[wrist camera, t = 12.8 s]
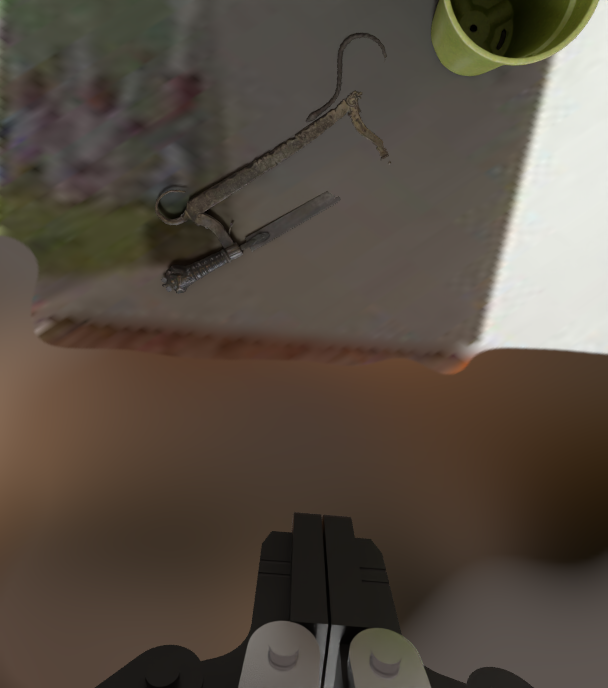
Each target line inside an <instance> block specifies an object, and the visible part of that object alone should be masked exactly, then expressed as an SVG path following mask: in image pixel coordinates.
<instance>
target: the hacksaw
mask: <svg viewBox="0 0 608 688" xmlns="http://www.w3.org/2000/svg"><path fill="white" fill-rule="evenodd" d="M361 37H364V38H365V37H366V38H370V39H372V40H373V41H375V42H377V43H378V44H379V46H380V47H381V49H382V52H383V55H384V58H386V57H387V55H386V52H385V47H384V46H383V45H382V43H381V42H380V40H379V39H377V38H376V37H375V36H372V35H370V34H367V33H356V34H353V35H350V36H349V37H348V38H347V39H345V40H344V41H343V43H342V44H341V45H340V49H339V51H338V59H337V63H338V64H337V68H338V71H337V74H338V77H337V88H336V92H335V94H334V96H333V98H331V99H330V101H329V102H328V103H327V104H325V105H324V106H323V107H322V108H321V109H318V110H317V111H316V112H313V113H311V114H310V115H309V116H308V118H307V120H306V122H309V121H313V120H315V119H316V118H317V117H318V116H319V115H320V114H321V113H322V112H324V111H325V110H326V109H327V108H328V107H330V106H331V104H332V103H334V102H335V100H336V99H337V97H338V95H339V92H340V90H341V89H340V86H341V84H342V83H341V79H342V55H343V50H344V49H345V47H346V45H347V44H349V43H350V42H351V40H353V39H356V38H361ZM357 93H358V92H356V91H354V92H352V93H350V95H349V96H348V98H346V101H345V100H344V99H343V101H341V102H340V103H339V104H338V105H337V107H336V108H335V109H331V110H330V111H329V112H327V113H326V114H325V115H323V116H322V117H320V118H319V119H317V120H316V121H315V122H313V123H312V124H310V125H309V126H307V127H306V128H305V129H303V130H302V131H300V132H299V133H298V135H295V138H294V139H292V140H287V141H286V143H283V144H281V145H280V146H278V147H277V148H275V149H274V150H273V151H272V152H271V153H267V154H265V155H264V156H262V157H261V158H260V159H258V160H257V161H256V160H254V161H253V163H252V164H251V165H250V166H247V167H244V168H243V169H241V170H240V171H237V172H236V173H234V174H233V175H231V176H229V177H228V178H226V179H225V180H223V181H221V182H220V183H218V184H217V185H215V186H213V187H211V188H209V189H207V190H206V191H204V192H202V193H201V194H199V195H198V196H196V197H194V198H193V199H190V201H187V208H186V210H185V211H184V213H183V214H181V217H179V218H175V219H172V220H171V219H167V218H165V217H164V216H163V215H161V214H160V212H159V210H158V203H159V201H160V199H161V198H162V197H163V196H164V195H165V194H167V193H169V192H186V191H180V190H170V191H167V192H165V193H163V194H162V195H161V196H160V197H159V198H158V199H157V201H156V204H155V212H156V214H157V216H158V217H159V218H160V219H161V220H162V221H163V222H165V223H166V224H169V225H178V224H180V223H183V222H184V221H185V222H187V220H189V219H190V220H192V221H194V222H195V223H196V225H197V226H199V225H202V226H204V227H206V228H207V229H208V228H209V229H210V230H211V231H212V232H213V233H214V234H215V235H216V236H217V238H218V239H219V241H220V243H221V244H222V246H223V247H224V249H222V250H221V251H219V252H217V253H215V254H212V255H210V256H208V257H206V258H204V259H202V260H200V261H197V262H194V263H193V264H191V265H188V266H181V265H172V266H171V267H170V269H168V270H167V271H166V277H167V279H166V278H165V277H163V278H162V279H161V281H162V282H164V283H165V282H166V284H163V285H162V286H163V287H164V286H166V285H167V287H166V290H167V291H168V292H170V291H171V289H172V288H173V289H174V290H175V291H176V293H183V292H185V291H186V288H187V287H188V286H189V285H191V284H192V283H194V282H195V281H197V280H198V279H200V278H202V277H203V276H205V275H206V274H208V273H210V272H212V271H213V270H215V269H216V268H218V267H220V266H222V265H224V264H226V263H230V262H231V260H233V259H236V258H238V257H240V256H241V255H242V254H243V253H242V251H243V250H244V249H246V248H247V247H250V248H251V250H252V252H253V250H255V249H257V248H259V247H261V246H262V245H264V244H266V243H268V242H270V241H271V240H273V239H275V238H277V237H278V236H280V235H282V234H284V233H286V231H289V230H291V229H293V227H294V228H295V226H298V225H300V224H302V222H304V221H306V220H308V219H309V218H311V217H313V216H315V215H317V214H318V213H320V212H322V211H324V210H325V209H327V208H329V207H331V206H333V205H334V204H336V203H338V201H340V197H339V196H338V197H335V196H334V195H332V194H331V193H329V192H328V191H326V192H325V193H323V194H321V195H319V196H318V197H316V198H314V199H313V200H311V201H309V202H307V203H306V204H304V205H302V206H300V207H299V208H297V209H295V210H293V211H292V212H290V213H288V214H286V215H285V216H283V217H281V218H279V219H278V220H276V221H274V222H273V223H271V224H269V225H267V226H266V227H264V228H262V229H260V230H259V231H257V232H255V233H253V234H252V235H250V236H248V237H246V238H245V240H246V241H247V242H246V243H245V244H242V245H240V246H238V244H237V243H234V242H233V240H232V239H231V237H230V230H231V227H232V225H233V224H232V223H230V229H229V234H228V232H227V231H226V230H225V228H224V227H223V225H222V224H221V223H220V222H219V221H217V220H216V219H215V218H213V217H212V216H210V215H208V214H206V213H204V212H205V211H207V210H208V209H210V208H211V207H212V206H214V205H216V204H217V203H219V202H220V201H222V200H224V199H225V198H227V197H228V196H230V195H231V194H233V193H234V192H236V191H238V190H239V189H241V188H242V187H244V186H245V185H247V184H248V183H250V182H251V181H253V180H254V179H256V178H258V177H259V176H261V175H262V174H264V173H265V172H267V171H269V170H270V169H272V168H273V167H275V166H276V165H277V164H280V163H281V162H282V161H284V160H285V159H287V158H289V157H290V156H292V155H293V154H294V153H296V152H297V151H299V150H300V149H302V148H303V147H304V146H306V145H307V144H309V143H310V142H311V141H313V140H314V139H315V138H317V137H318V136H319V135H321V134H322V133H323V132H324V131H325V130H326V129H328V128H329V127H331V126H332V125H333V124H334V123H335V122H336V121H338V120H339V119H341V118H342V117H343V116H344V115H345V114H346V113H347V112H348V116H351V117H350V118H351V119H352V123H353V125H354V126H355V128H356V130H357V131H358V132H359V133H360V134H361V135H362V136H364V137H365V138H367V139H368V140H370V141H371V142H372V143H374V144H375V145H376V146H377V148H376V149H377V150H378V152H379V153H380V156H381V160H382V159H384V158H386V157H388V156H389V155H388V152H387V151H385V150H386V149H385V148H384V146H383V141H382V140H381V139H380V138H378V137H377V136H376V135H375V134H373V133H372V132H371V131H370V130H368V129H367V128H366V126H365V125H364V123H363V122H362V120H361V117H360V115H359V112H361V111H360V109H359V105H358V98H360V99H361V97H360V95H362V92H359V93H358V94H357ZM356 94H357V95H356ZM388 164H391V162H390V161H389V162H388ZM334 198H335V199H334ZM171 287H172V288H171Z"/></svg>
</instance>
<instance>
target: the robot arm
mask: <svg viewBox="0 0 608 688" xmlns="http://www.w3.org/2000/svg"><path fill="white" fill-rule="evenodd" d="M95 688H533V687H532V686H531V685H530V684H528V683H527V682H526V681H524V680H523V679H522V678H520V677H518V676H517V675H515V674H513V673H511V672H509V671H507V670H504V669H500V668H495V667H484V668H480V669H477V670H475V671H474V672H472V674H471V675H470V676H469V678H468V681H467V684H465V683H463V682H460V681H457V680H454V679H452V678H449V677H446V676H444V675H441V674H439V673H436V672H434V671H432V670H431V669H429V668H427V667H426V666H424V665H423V663H422V660H421V658H420V655H419V653H418V651H417V650H416V648H415V647H414V646H413V645H412V643H411V642H409V641H408V640H407V639H406V638H404V637H403V636H402V634H401V630H400V626H399V622H398V618H397V614H396V610H395V605H394V601H393V598H392V593H391V589H390V586H389V580H388V576H387V572H386V568H385V564H384V560H383V556H382V553H381V552H380V550H379V549H378V548H377V546H376V545H375V544H374V543H373V541H372V540H371V539H363V538H355V537H354V531H353V526H352V520H351V517H344V516H331V515H323V517H321V515H320V514H308V513H296V512H295V513H294V514H293V523H292V533H289V532H276V531H272V532H271V533H270V534H269V536H268V537H267V538H266V539H265V541H264V542H263V543H262V549H261V556H260V563H259V571H258V580H257V587H256V594H255V602H254V609H253V617H252V624H251V629H250V632H249V634H248V636H247V637H246V639H245V640H244V641H243V643H242V644H241V645H240V646H238V648H236V649H235V650H233V651H232V652H230V653H228V654H226V655H224V656H220V657H217V658H213V659H209V660H205V661H200V660H199V658H198V657H197V656H196V655H195V653H193V652H192V651H191V650H189V649H187V648H185V647H181V646H177V645H163V646H158V647H155V648H152V649H150V650H147V651H145V652H144V653H142V654H141V655H139V656H138V657H136V658H135V659H134V660H132V661H131V662H129V663H128V664H127V665H126V666H124V667H123V668H121V669H120V670H118V671H117V672H116V673H115V674H113V675H112V676H110V677H109V678H108V679H106V680H105V681H104V682H102V683H101V684H99V685H98V686H97V687H95Z"/></svg>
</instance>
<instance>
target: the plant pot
mask: <svg viewBox="0 0 608 688" xmlns="http://www.w3.org/2000/svg"><path fill="white" fill-rule="evenodd" d="M598 2H599V0H439V2H438V5H437V8H436V11H435V14H434V17H433V21H432V28H431V39H432V44H433V46H434V49H435V51H436V53H437V56H438V58H439V60H440V62H441V63H442V64H443V65H444V66H445V67H446V68H447V69H449V70H450V71H452V72H454V73H456V74H459V75H464V76H475V75H480V74H483V73H485V72H488V71H490V70H493V69H495V68H497V67H499V66H502V65H526V64H530V63H535V62H538V61H540V60H543V59H545V58H548V57H550V56H552V55H553V54H555V53H557V52H558V51H560V50H562V49H563V48H564V47H566V46H567V45H568V44H569V43H570V42H571V41H573V40H574V39H575V38H576V37H577V35H578V34H579V33H580V32H581V31H582V30H583V28H584V27H585V26H586V24H587V23H588V21H589V20H590V18H591V16H592V15H593V13H594V11H595V9H596V7H597V4H598ZM472 25H476V27H477V30H476V32H471V31H470V26H472ZM503 29H505V31H506V38H505V40H504V43H503V45H502V47H501V48H500V49H499V50H497V48H496V47H497V45H498V42H499V40H500V38H501V32H502V30H503Z"/></svg>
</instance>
